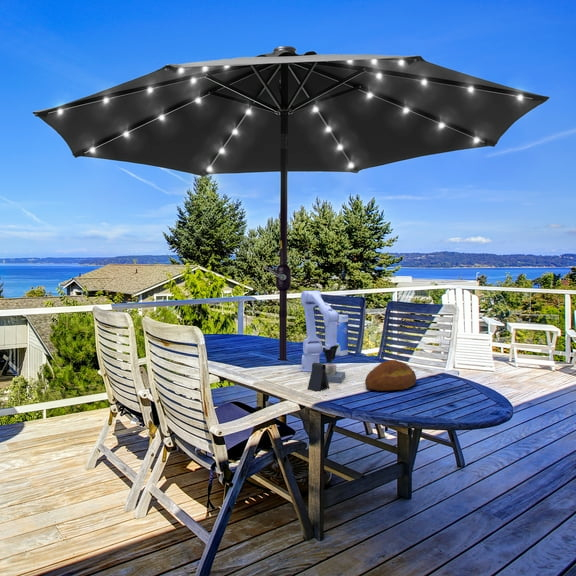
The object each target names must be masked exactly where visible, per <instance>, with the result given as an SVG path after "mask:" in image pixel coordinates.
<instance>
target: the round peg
mask: <svg viewBox="0 0 576 576" xmlns="http://www.w3.org/2000/svg"><path fill="white" fill-rule="evenodd" d="M324 364H325V365H326V367H327V366H336V367H337V364H334V363H324Z"/></svg>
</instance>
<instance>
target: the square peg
mask: <svg viewBox="0 0 576 576" xmlns="http://www.w3.org/2000/svg"><path fill="white" fill-rule="evenodd" d="M336 371H337V365H336V366H327V367H326V374H327V375H336Z"/></svg>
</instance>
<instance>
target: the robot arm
mask: <svg viewBox="0 0 576 576" xmlns="http://www.w3.org/2000/svg"><path fill="white" fill-rule="evenodd" d="M300 301H301V306H302V307H303V309H304V317H305V318H304V319H305V326H306V327H305V328H306V338H305V339H304V340H303V341H302V351H303V354H302V356H301V372H309V373H311V372H312V364H313V363H320V355H321V354H322V353H324V355H325V361H326V364H332V362H333V361H335V359H336V356H337V355H336V351H337V348H338V346H337V345H339V343H337V322H338V320H339V315H340V313H339V311H338V310H334V309H333V308H332V307H331V306H330V304H329V303H328V302H325V301H324V299H323V298H322V293H321V291H320V290H319V289H318V290H303V291H302V292H301V294H300ZM316 306H317V307H318V311H319V312H320V313H321V315H322V316H323V318H322V319H323V321H324V326H325V329H324V330H325V331H324V332H325V334H324V335H325V338H324V339H325V340H324V341H325V342H324V345H325V347H323V343H322V339H321V338H320V337H319V336H317V330H316V322H315V321H316V320H315V312H314V308H315V307H316Z"/></svg>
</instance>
